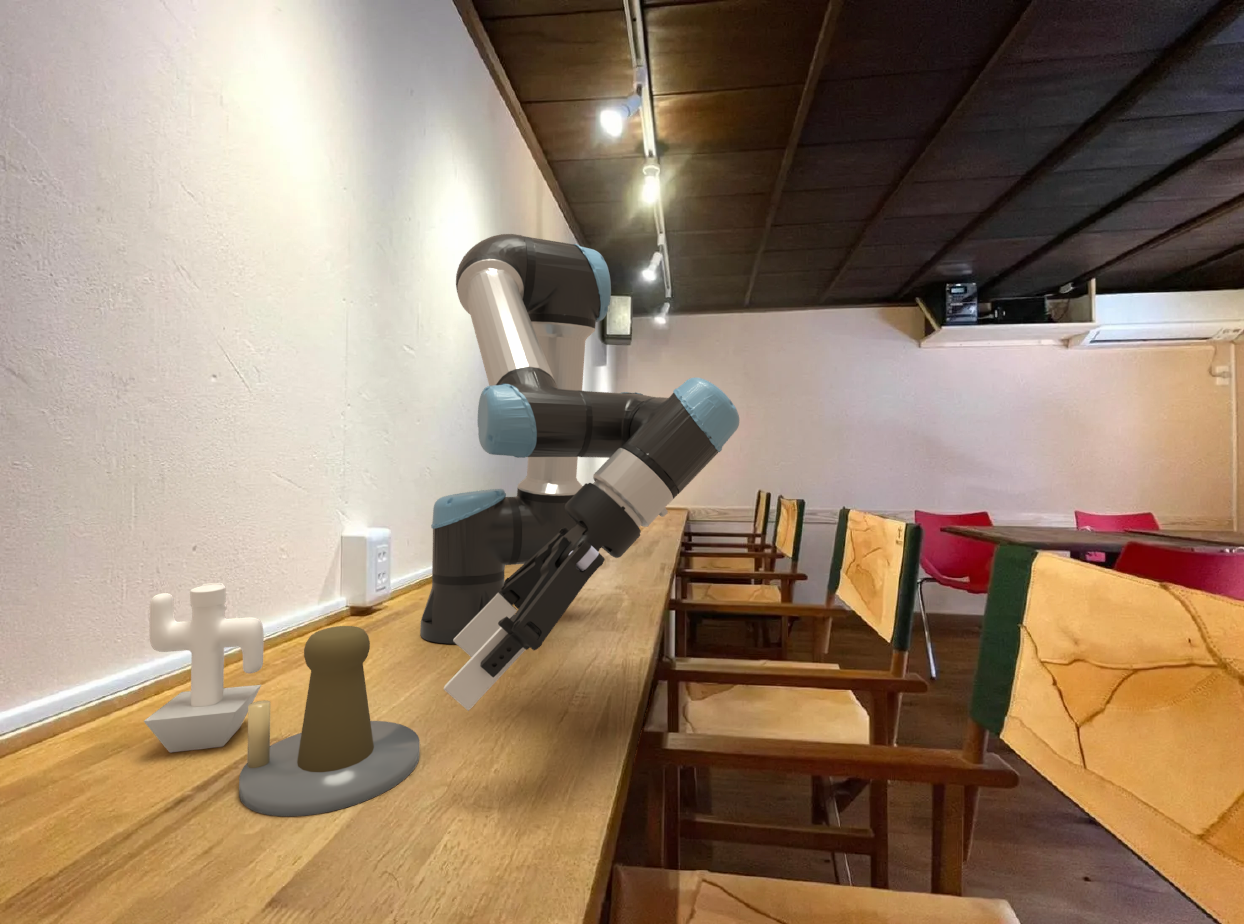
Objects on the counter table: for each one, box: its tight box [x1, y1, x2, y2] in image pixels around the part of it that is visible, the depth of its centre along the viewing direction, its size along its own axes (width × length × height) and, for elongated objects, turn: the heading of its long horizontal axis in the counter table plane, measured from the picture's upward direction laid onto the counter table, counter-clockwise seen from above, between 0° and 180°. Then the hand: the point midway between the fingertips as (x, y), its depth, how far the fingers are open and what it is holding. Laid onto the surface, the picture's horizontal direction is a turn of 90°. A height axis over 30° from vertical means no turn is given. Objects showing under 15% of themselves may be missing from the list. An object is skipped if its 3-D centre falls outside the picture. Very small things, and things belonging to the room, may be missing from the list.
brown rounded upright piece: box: [297, 625, 374, 772], centre depth 50 cm, size 6×6×11 cm
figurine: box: [143, 582, 265, 753], centre depth 56 cm, size 7×9×15 cm
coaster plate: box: [238, 700, 421, 817], centre depth 50 cm, size 14×14×6 cm
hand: (459, 670), depth 53 cm, fingers open, 13 cm apart
